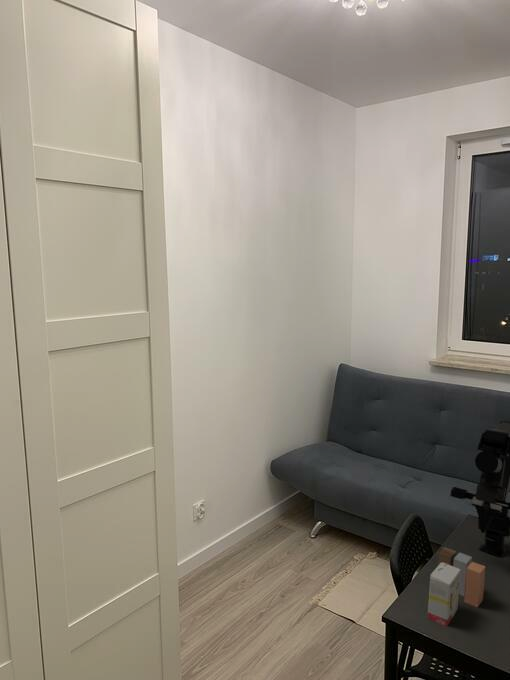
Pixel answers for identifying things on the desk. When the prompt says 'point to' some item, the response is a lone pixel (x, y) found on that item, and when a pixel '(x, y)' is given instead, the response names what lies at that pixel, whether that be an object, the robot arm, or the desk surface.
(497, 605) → the desk surface
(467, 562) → the slate block
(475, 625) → the desk surface
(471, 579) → the terracotta block
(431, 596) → the ink box
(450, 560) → the walnut block
